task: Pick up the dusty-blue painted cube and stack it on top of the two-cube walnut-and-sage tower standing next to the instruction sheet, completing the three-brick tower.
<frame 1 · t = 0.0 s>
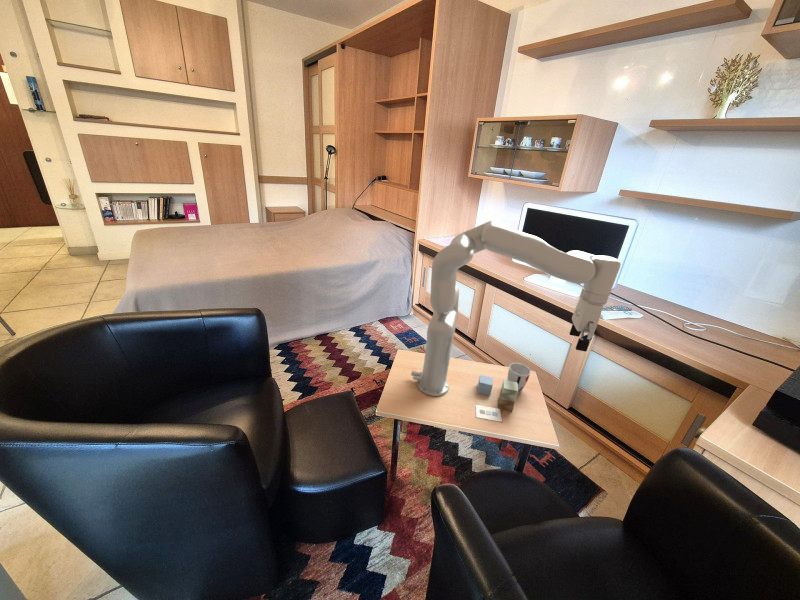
hand: (577, 342, 110), 31 cm above the table, fingers open, 9 cm apart
tower base: (504, 406, 124), on the table
blue brick: (483, 390, 132), on the table
cup: (514, 389, 134), on the table
instruction card: (488, 413, 120), on the table
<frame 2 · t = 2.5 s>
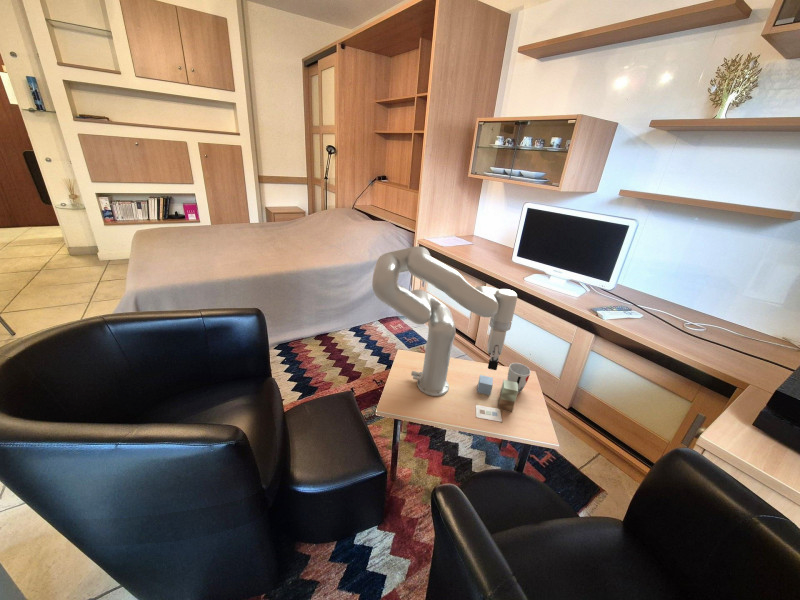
hand: (492, 361, 126), 14 cm above the table, fingers open, 9 cm apart
nothing on the table moved.
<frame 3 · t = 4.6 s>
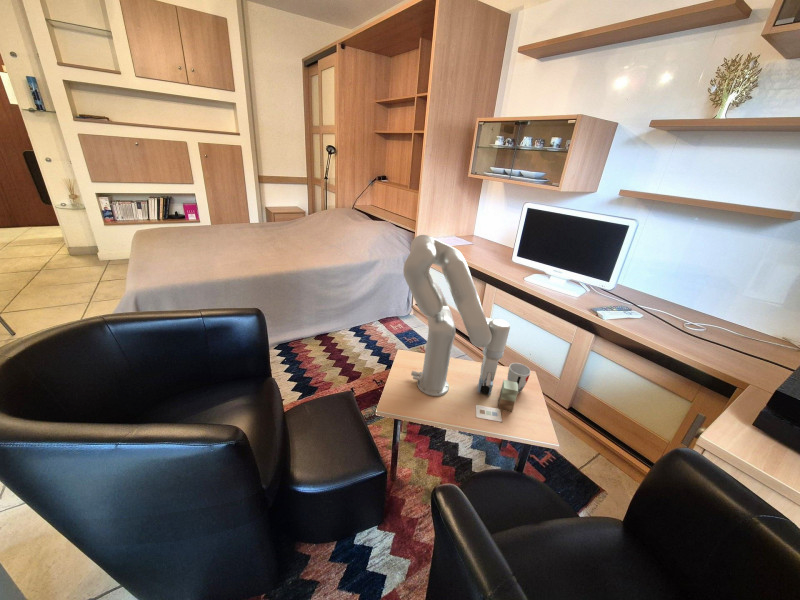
hand: (484, 388, 132), 1 cm above the table, fingers closed on blue brick, 5 cm apart
blue brick: (484, 389, 132), on the table, touching gripper
everything else where it was.
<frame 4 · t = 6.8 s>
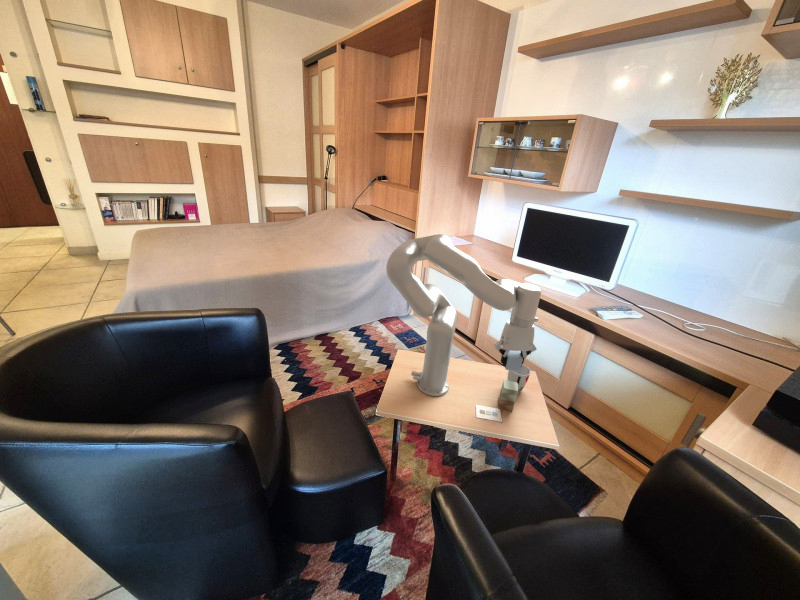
hand: (511, 364, 119), 18 cm above the table, fingers closed on blue brick, 5 cm apart
blue brick: (510, 366, 119), point 17 cm above the table, touching gripper
everything else where it was.
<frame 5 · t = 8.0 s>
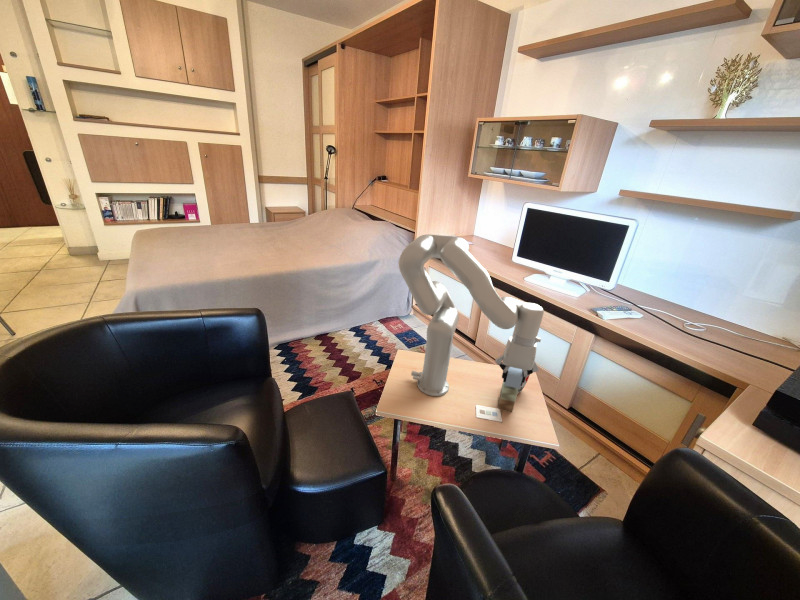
hand: (512, 381, 119), 12 cm above the table, fingers closed on blue brick, 5 cm apart
blue brick: (512, 382, 120), point 11 cm above the table, touching gripper
everything else where it was.
when the fingers open (11 cm above the table, at t = 8.9 s): blue brick stays where it is, resting on tower base.
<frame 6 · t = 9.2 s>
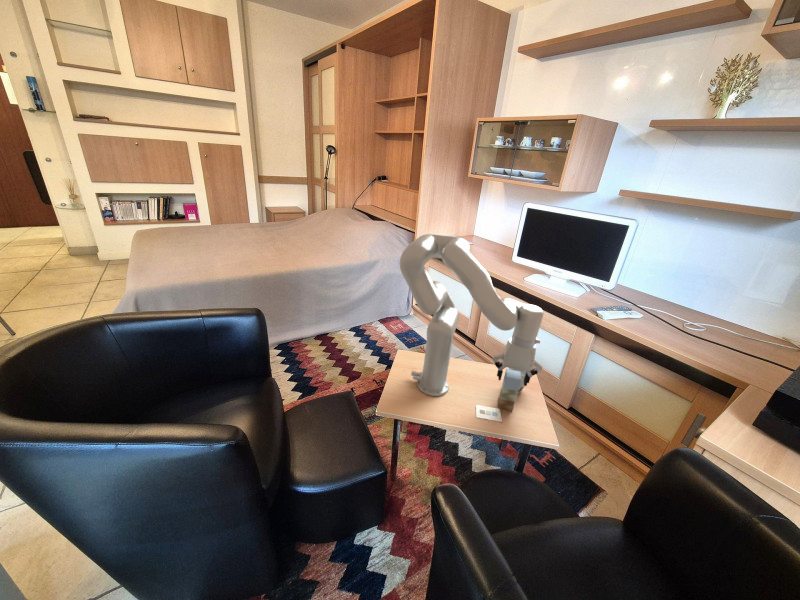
hand: (512, 380, 119), 12 cm above the table, fingers open, 8 cm apart
tower base: (504, 406, 124), on the table, touching blue brick
blue brick: (510, 385, 120), point 10 cm above the table, touching tower base
everything else where it was.
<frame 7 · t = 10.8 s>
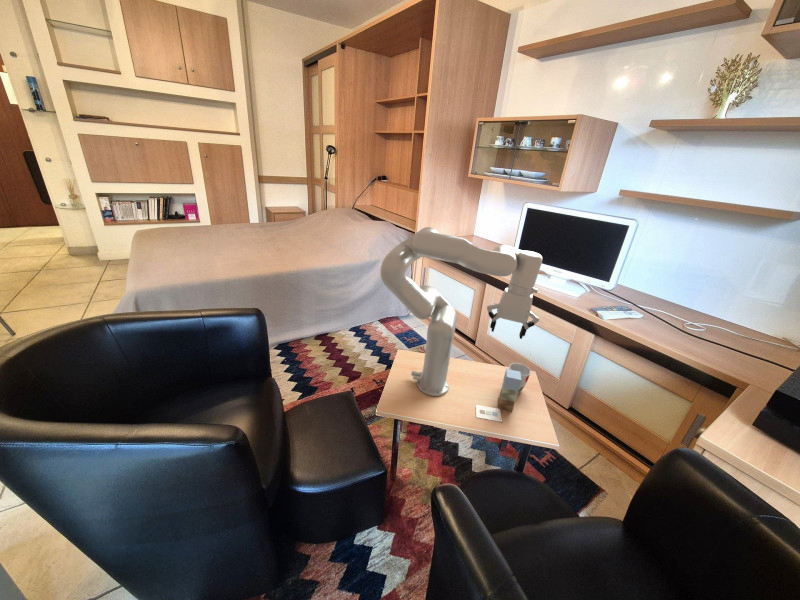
hand: (506, 333, 115), 29 cm above the table, fingers open, 9 cm apart
nothing on the table moved.
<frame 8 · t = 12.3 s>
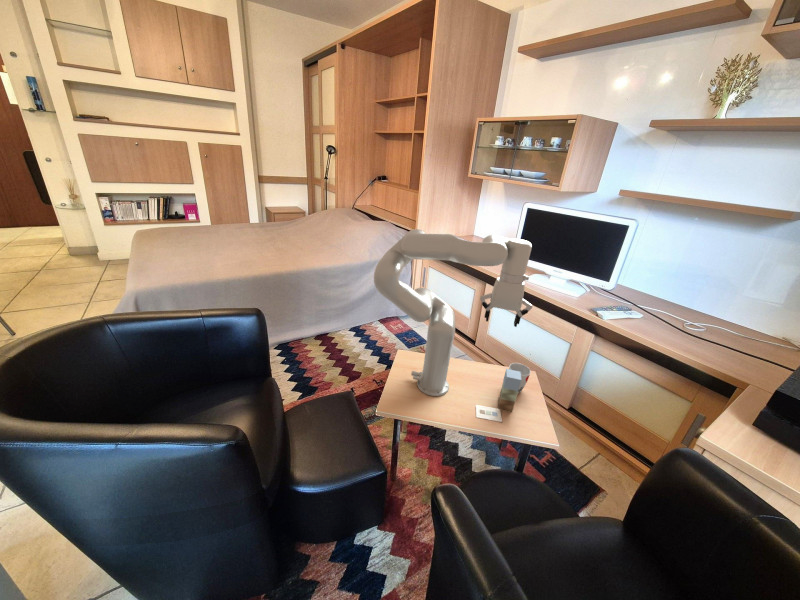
hand: (500, 322, 116), 32 cm above the table, fingers open, 9 cm apart
nothing on the table moved.
at the end: blue brick 0.1 cm off-centre on the tower base, point 10.0 cm above the tower base's base; blue brick tilted 0°; tower base tilted 0° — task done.
